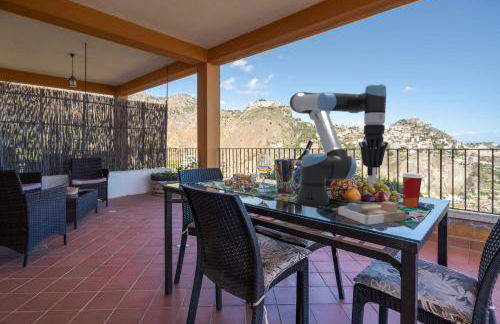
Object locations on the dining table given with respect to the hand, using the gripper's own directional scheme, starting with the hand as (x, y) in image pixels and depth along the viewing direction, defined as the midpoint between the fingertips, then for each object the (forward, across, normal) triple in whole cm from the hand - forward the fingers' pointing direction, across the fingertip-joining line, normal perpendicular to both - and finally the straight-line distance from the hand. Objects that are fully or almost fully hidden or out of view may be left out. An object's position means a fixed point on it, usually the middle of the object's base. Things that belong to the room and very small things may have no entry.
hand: (371, 183), depth 108 cm
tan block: (+10, +3, -6) cm, 12 cm away
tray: (+13, -8, -3) cm, 16 cm away
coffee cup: (+13, +29, +6) cm, 33 cm away
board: (+13, +1, -3) cm, 13 cm away
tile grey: (+10, -6, 0) cm, 12 cm away
